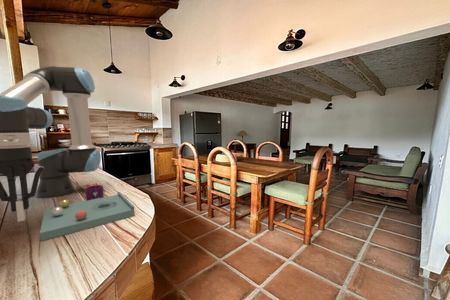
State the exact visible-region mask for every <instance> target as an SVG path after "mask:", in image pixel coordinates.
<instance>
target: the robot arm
mask: <svg viewBox="0 0 450 300" xmlns="http://www.w3.org/2000/svg"><path fill="white" fill-rule="evenodd" d="M95 89H96V88H95V81H94V78H93V76H92V75H91V73H90V71H88V70H87V69H86V68H81V67H74V66H73V67H71V66H70V67H68V66H55V65H51V66H43V67H40V68H37V69H35V70H32V71H30V72H28V73H26V74H24V75H23V77H22V80H20V81H19V82H17V83H16V84H14V85H12V86H10V87H8V88H7V89H6V90H4V91H2V92H1V93H0V174H2V175H3V176H5V177H6V180H7V185H8V193H7V191H6V189H5V187H4V186H3V183H2V181H1V180H0V201H2V202H9V203H10V209H11V212H16V217H17V222H18V223H19V222H23V221H26V217H27V216H26V210H28V209H29V207H30V201H29V199H31V198H33V197H35V196H36V197H37V198H41V199H42V198H45V199H46V198H53V197H59V196H64V195H68V194H71V193H73V192H75V185H74V183H73V181H72V179H71V178H70V174H73V173H74V174H75V173H76V174H77V173H91V172H95V171H97V170H98V169H99V167H100V164H101V160H102V159H101V158H102V154H101V151H100V150H97V149H96V146H95V145H94V144H93V141H92V131H91V120H90V110H89V101H88V100H89V99H90V97H91V95H92V93H94V92H95ZM49 92H62V93H61V94H62V95H63V96H64V97H65V99H66V103H67V111H68V119H69V120H68V121H69V130H70V139H71V140H70V141H71V145H70V146H69V147H68V149H67V148H59V149H58V148H57V149H52V150H45V151H41V152H40V151H39V152H38V154H37V164H36V163H35V161H33V154H32V148H31V147H30V146H31V145H32V144H31V143H32V142H31V134H30V129H31V130H32V129H33V130H34V129H35V130H44V129H48V128H49V127H51V126H52V124H53V122H54V119H53V118H54V117H53V115H52V113H50V112H49V111H48V110H46V109H43V108H40V107H33V106H28V105H29V104H30V103H32V102H33V101H34V100H35V99H36V98H38V97H39V96H41V95H44V94H47V93H49ZM32 169H33V171H34V173H35V174H34V176H33V180H32V185H31V189H30V192H29V189H28V181H27V180H28V179H27V175H28V174H29V173H30V171H31V170H32ZM16 177H19V182H20V184H19V185H20V192H21V198H20V199H18V196H17V186H16ZM8 194H9V195H8Z"/></svg>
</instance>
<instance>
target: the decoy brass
mask: <svg viewBox="0 0 450 300" xmlns="http://www.w3.org/2000/svg"><path fill="white" fill-rule="evenodd" d="M69 204H71V202H70V200H69V199H64V198H63V199H62V200H60V201H59V203H58V205H59V206H60V207H62V208H66V207H68V206H69Z"/></svg>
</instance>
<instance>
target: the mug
mask: <svg viewBox="0 0 450 300" xmlns="http://www.w3.org/2000/svg"><path fill="white" fill-rule="evenodd" d="M84 191H85V198H86V199H85V201H88V200H93V199H98V198H104V197H105V195H104V186H103V185H101V184H96V185H90V186H86V187H85V190H84Z"/></svg>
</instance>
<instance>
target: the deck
mask: <svg viewBox="0 0 450 300" xmlns="http://www.w3.org/2000/svg"><path fill="white" fill-rule="evenodd" d="M56 207H60V205H59V206H54V207H48V208H44V209H43V210H44V212H43V216H42V220H41V224H40V225H41V227H40V231H39V237H40V242H43V241H47V240H50V239H54V238H59V237H61V236H65V235H68V234H73V233H77V232H81V231H84V230H87V229H91V228H95V227H98V226H102V225H105V224H110V223H113V222H116V221H121V220H124V219H128V218H132V217H135V206H134V204H132V202H130V201H129V200H128V198H126V196H124V195H123V194H122V193H121V192H120V191H118V192H117V194H115V195H110V196H104V198H98V199H93V200H88V201H86V200H84V201H78V202H73V203H70V204H69V206H68V207H66V208H63V210H64V212H63V214H62V215H60V216H53V215H52V210H53V209H54V208H56ZM79 210H85V211H86V212H87V216H86V217H85V218H84V219H82V220H78V219H76V218H75V214H76V213H77V212H78V211H79Z"/></svg>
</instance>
